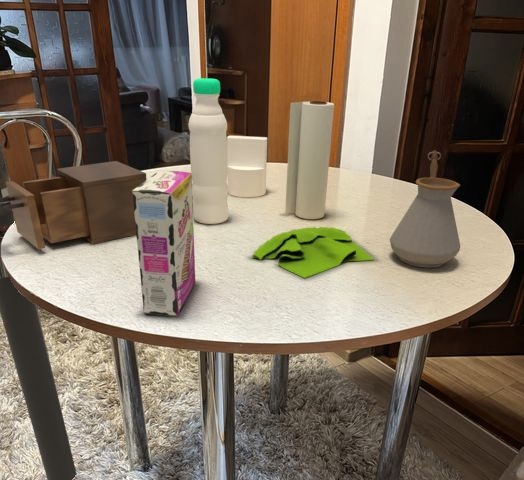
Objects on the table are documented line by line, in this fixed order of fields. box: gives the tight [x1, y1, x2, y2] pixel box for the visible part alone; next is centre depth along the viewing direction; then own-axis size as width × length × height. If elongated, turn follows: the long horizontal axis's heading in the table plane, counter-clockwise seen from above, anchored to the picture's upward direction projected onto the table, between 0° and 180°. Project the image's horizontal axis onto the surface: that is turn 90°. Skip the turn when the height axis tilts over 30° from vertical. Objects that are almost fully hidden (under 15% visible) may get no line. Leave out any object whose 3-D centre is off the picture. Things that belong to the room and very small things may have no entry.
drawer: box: [0, 176, 90, 250], centre depth 87 cm, size 15×10×9 cm
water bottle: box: [187, 77, 229, 225], centre depth 96 cm, size 7×7×25 cm
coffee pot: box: [389, 149, 461, 269], centre depth 87 cm, size 21×12×15 cm, turn 166°
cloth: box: [251, 226, 375, 279], centre depth 88 cm, size 20×22×2 cm
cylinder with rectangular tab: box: [226, 135, 268, 198], centre depth 117 cm, size 9×9×12 cm
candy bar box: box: [132, 170, 196, 317], centre depth 68 cm, size 11×5×16 cm, turn 174°
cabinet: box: [55, 160, 148, 245], centre depth 93 cm, size 12×12×11 cm
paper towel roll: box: [284, 100, 335, 220], centre depth 101 cm, size 7×6×21 cm
